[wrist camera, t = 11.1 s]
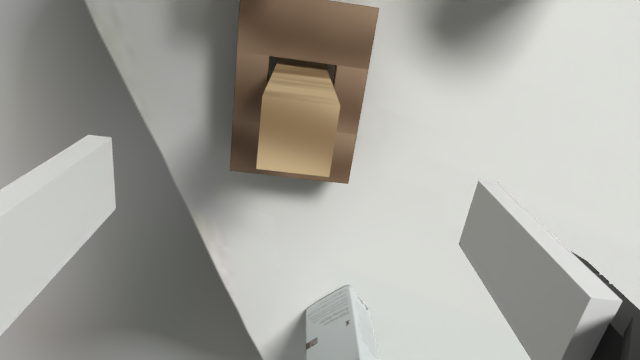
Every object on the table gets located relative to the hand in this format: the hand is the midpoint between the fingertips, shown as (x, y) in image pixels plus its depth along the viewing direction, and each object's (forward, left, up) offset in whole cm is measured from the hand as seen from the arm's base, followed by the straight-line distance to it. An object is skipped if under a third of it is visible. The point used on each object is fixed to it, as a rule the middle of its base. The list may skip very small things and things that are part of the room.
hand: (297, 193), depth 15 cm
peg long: (0, 0, -24) cm, 23 cm away
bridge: (0, 0, -23) cm, 23 cm away
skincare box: (+24, +7, -24) cm, 35 cm away
